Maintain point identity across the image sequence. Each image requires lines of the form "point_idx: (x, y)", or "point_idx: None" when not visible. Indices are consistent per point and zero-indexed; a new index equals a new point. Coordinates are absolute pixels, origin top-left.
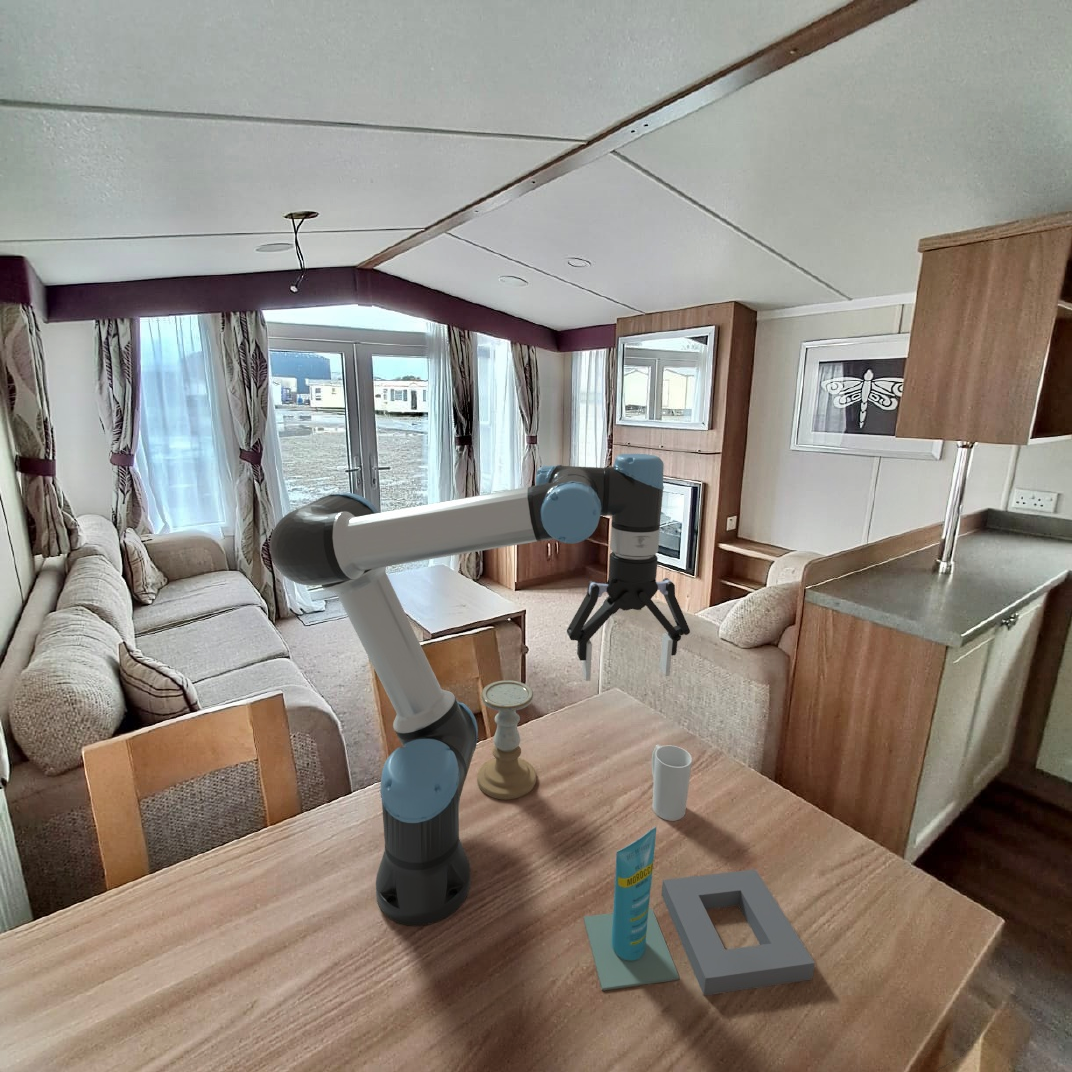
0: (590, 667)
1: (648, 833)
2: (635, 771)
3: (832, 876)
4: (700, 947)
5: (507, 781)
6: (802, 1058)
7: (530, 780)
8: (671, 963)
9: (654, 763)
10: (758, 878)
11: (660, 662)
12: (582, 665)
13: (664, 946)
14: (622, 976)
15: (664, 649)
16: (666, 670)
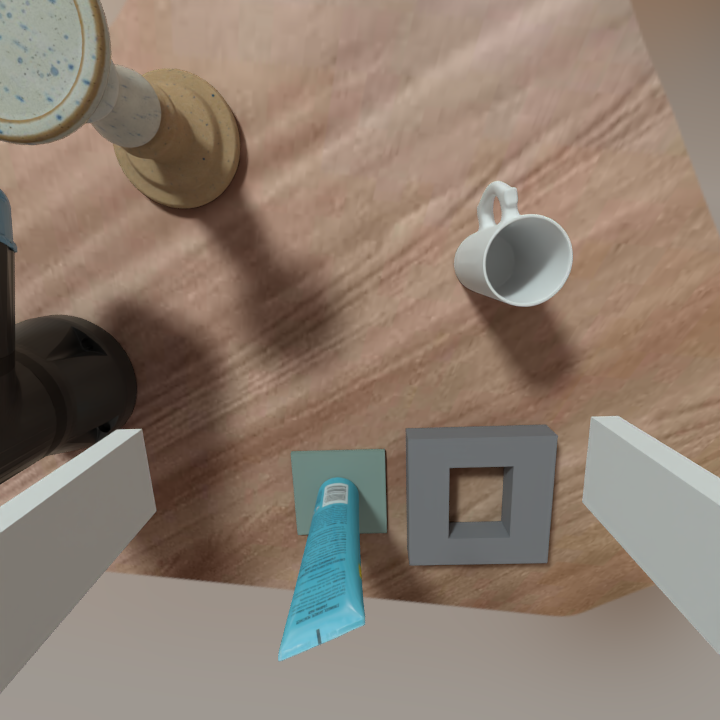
0: (105, 565)
1: (346, 628)
2: (458, 138)
3: (671, 423)
4: (419, 533)
5: (170, 181)
6: (476, 605)
7: (223, 168)
8: (383, 518)
9: (490, 197)
10: (551, 451)
11: (616, 440)
12: (85, 450)
13: (382, 499)
14: None
15: (705, 572)
16: (606, 525)
